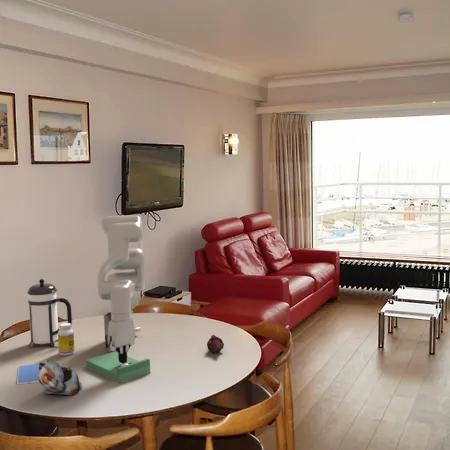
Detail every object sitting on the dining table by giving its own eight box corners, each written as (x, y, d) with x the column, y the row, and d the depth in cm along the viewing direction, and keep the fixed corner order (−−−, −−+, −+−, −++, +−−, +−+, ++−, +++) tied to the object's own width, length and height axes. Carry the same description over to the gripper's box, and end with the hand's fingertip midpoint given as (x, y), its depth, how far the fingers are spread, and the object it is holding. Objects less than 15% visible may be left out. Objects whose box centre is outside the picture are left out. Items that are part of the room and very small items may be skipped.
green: (115, 358, 235) (115, 345, 234) (150, 372, 218) (149, 359, 217) (85, 367, 225) (85, 354, 224) (119, 382, 208) (119, 368, 207)
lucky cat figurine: (85, 394, 198) (69, 366, 191) (53, 411, 195) (35, 384, 188) (76, 369, 210) (61, 342, 203) (46, 385, 207) (29, 359, 200)
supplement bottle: (70, 356, 238) (68, 326, 237) (55, 355, 240) (54, 326, 238) (77, 351, 245) (76, 322, 243) (63, 350, 246) (62, 321, 245)
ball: (125, 362, 220) (130, 360, 217) (128, 372, 219) (134, 370, 216) (116, 366, 217) (122, 364, 214) (120, 376, 216) (125, 374, 214)
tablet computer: (52, 382, 211) (52, 378, 211) (16, 386, 207) (16, 383, 207) (50, 365, 230) (50, 361, 230) (18, 369, 226) (18, 365, 226)
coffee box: (130, 348, 248) (129, 312, 246) (123, 353, 242) (122, 316, 240) (112, 346, 251) (111, 311, 249) (104, 351, 244) (103, 314, 243)
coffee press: (36, 351, 245) (33, 284, 242) (22, 343, 257) (18, 279, 253) (73, 343, 256) (70, 278, 253) (58, 335, 268) (55, 273, 265)
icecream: (228, 341, 234) (221, 334, 249) (211, 338, 232) (205, 331, 247) (225, 358, 234) (218, 350, 248) (208, 355, 232) (202, 347, 247)
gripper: (131, 310, 224) (133, 355, 226) (99, 318, 214) (101, 365, 216) (142, 314, 219) (144, 359, 221) (109, 322, 208) (111, 369, 210)
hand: (122, 362), depth 218 cm, fingers closed
